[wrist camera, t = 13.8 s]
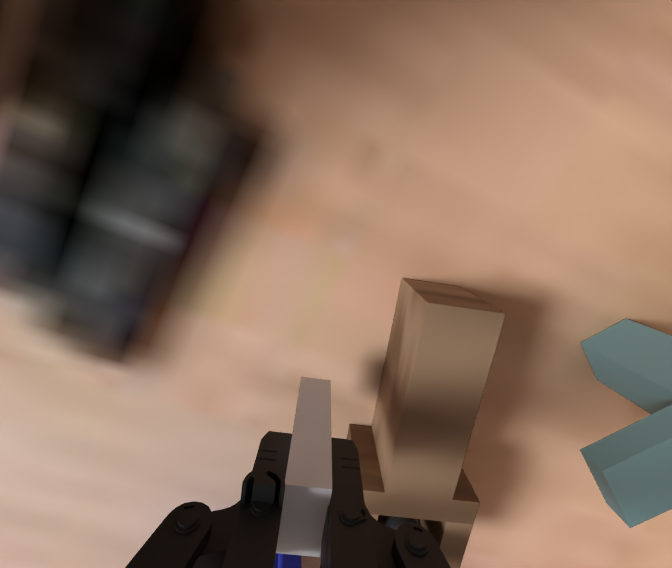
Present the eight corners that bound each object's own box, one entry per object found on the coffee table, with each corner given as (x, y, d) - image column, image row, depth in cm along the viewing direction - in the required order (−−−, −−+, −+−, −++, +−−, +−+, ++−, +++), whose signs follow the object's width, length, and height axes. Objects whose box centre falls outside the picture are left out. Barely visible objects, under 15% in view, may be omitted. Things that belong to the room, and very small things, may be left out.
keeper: (505, 378, 20) (602, 470, 13) (624, 315, 20) (795, 377, 13) (527, 419, 21) (629, 528, 14) (642, 360, 20) (814, 442, 13)
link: (377, 274, 19) (395, 298, 14) (483, 290, 19) (537, 318, 14) (334, 504, 22) (336, 586, 18) (424, 513, 23) (450, 596, 18)
